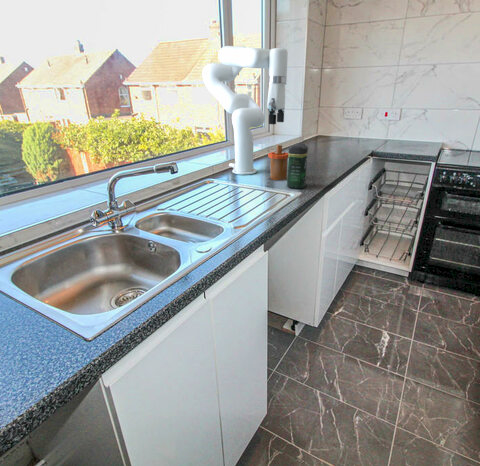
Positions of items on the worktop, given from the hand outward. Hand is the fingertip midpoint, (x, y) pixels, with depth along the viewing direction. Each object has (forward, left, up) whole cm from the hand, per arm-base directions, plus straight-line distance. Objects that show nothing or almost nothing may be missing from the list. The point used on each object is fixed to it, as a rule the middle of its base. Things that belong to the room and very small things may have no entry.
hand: (276, 123), depth 148 cm
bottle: (0, +3, -26) cm, 26 cm away
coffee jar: (+13, -7, -26) cm, 30 cm away
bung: (+1, +3, -16) cm, 16 cm away
